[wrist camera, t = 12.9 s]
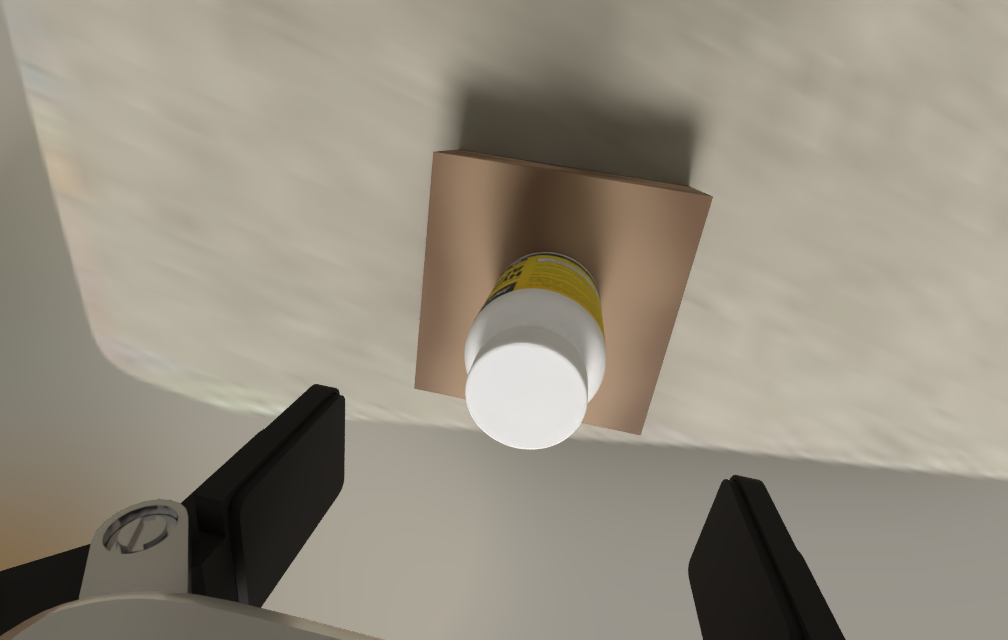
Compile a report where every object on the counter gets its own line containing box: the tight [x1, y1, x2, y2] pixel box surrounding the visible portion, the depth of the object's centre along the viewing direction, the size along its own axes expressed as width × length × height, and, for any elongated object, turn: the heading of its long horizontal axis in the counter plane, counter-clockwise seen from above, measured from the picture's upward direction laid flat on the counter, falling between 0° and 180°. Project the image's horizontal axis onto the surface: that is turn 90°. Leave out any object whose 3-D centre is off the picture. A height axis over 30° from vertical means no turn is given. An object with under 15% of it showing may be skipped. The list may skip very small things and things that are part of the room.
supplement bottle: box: [464, 252, 606, 449], centre depth 19 cm, size 5×5×10 cm
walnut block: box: [414, 150, 713, 435], centre depth 26 cm, size 13×13×5 cm
